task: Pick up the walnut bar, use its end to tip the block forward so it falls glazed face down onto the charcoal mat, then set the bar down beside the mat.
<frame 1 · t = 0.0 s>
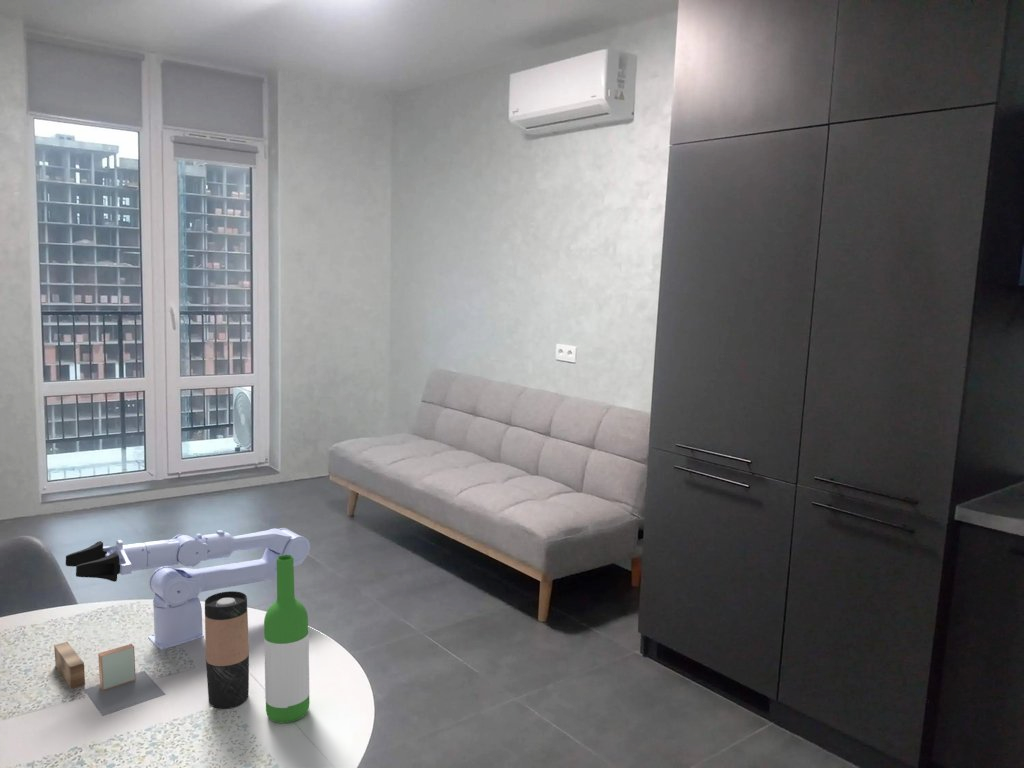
hand: (71, 565, 152), 22 cm above the table, tool horizontal, fingers open, 7 cm apart
bar: (70, 677, 151), on the table
travel mug: (228, 700, 144), on the table
wine bottle: (288, 714, 139), on the table
mat: (124, 693, 145), on the table
block: (118, 683, 148), resting on mat
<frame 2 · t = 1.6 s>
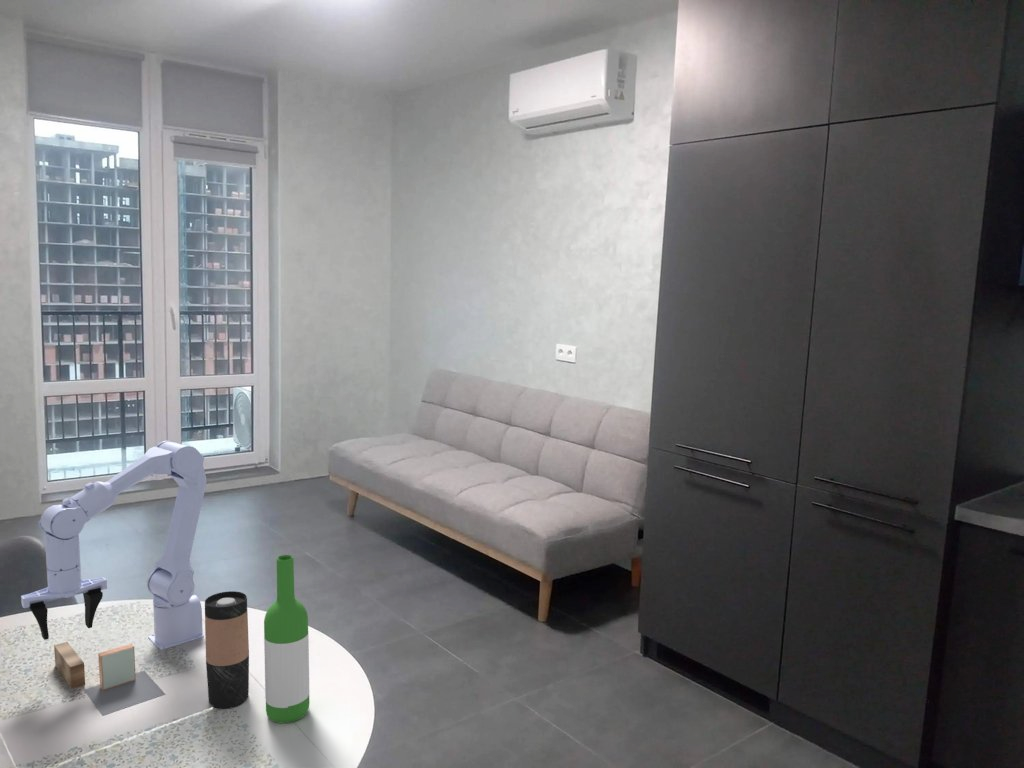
hand: (67, 631, 150), 9 cm above the table, tool pointing down, fingers open, 7 cm apart
nothing on the table moved.
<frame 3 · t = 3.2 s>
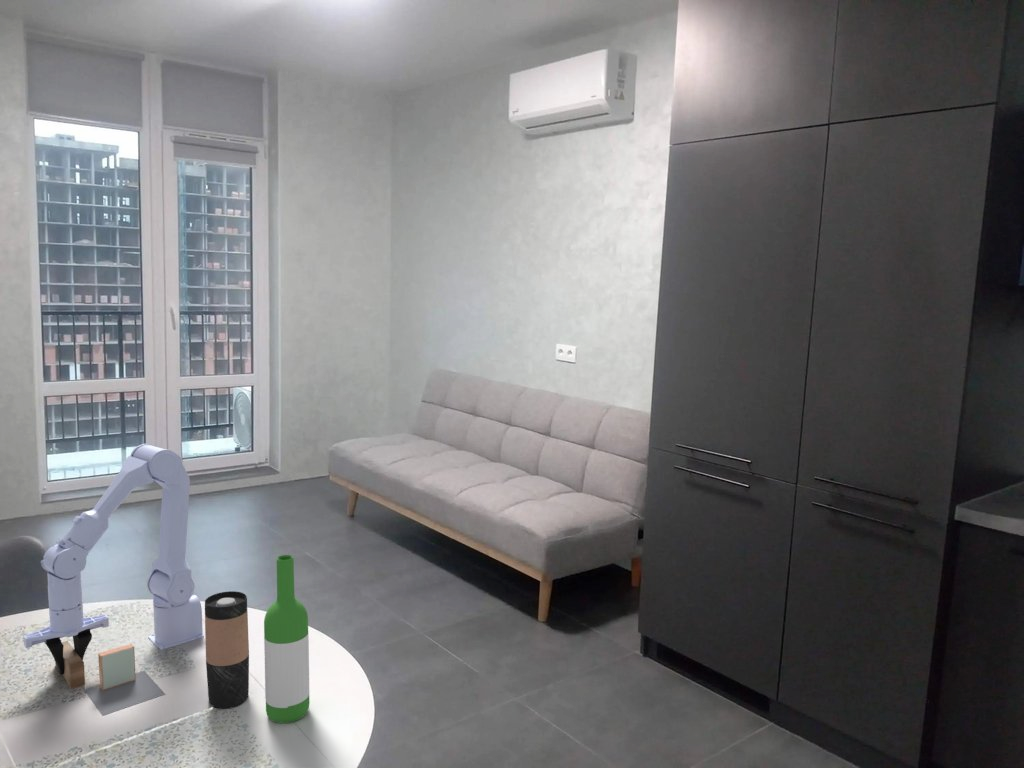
hand: (69, 670, 151), 1 cm above the table, tool pointing down, fingers closed on bar, 2 cm apart
bar: (70, 676, 151), on the table, touching gripper
everything else where it was.
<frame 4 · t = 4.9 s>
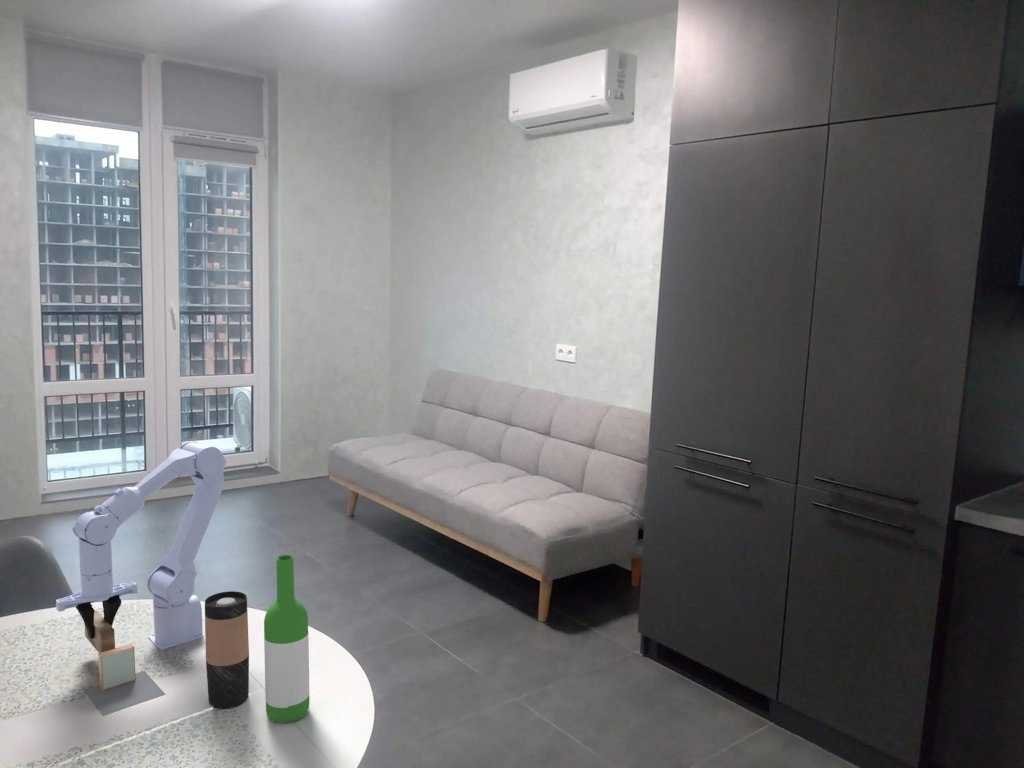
hand: (99, 634, 155), 7 cm above the table, tool pointing down, fingers closed on bar, 2 cm apart
bar: (99, 644, 155), point 4 cm above the table, touching gripper
everything else where it was.
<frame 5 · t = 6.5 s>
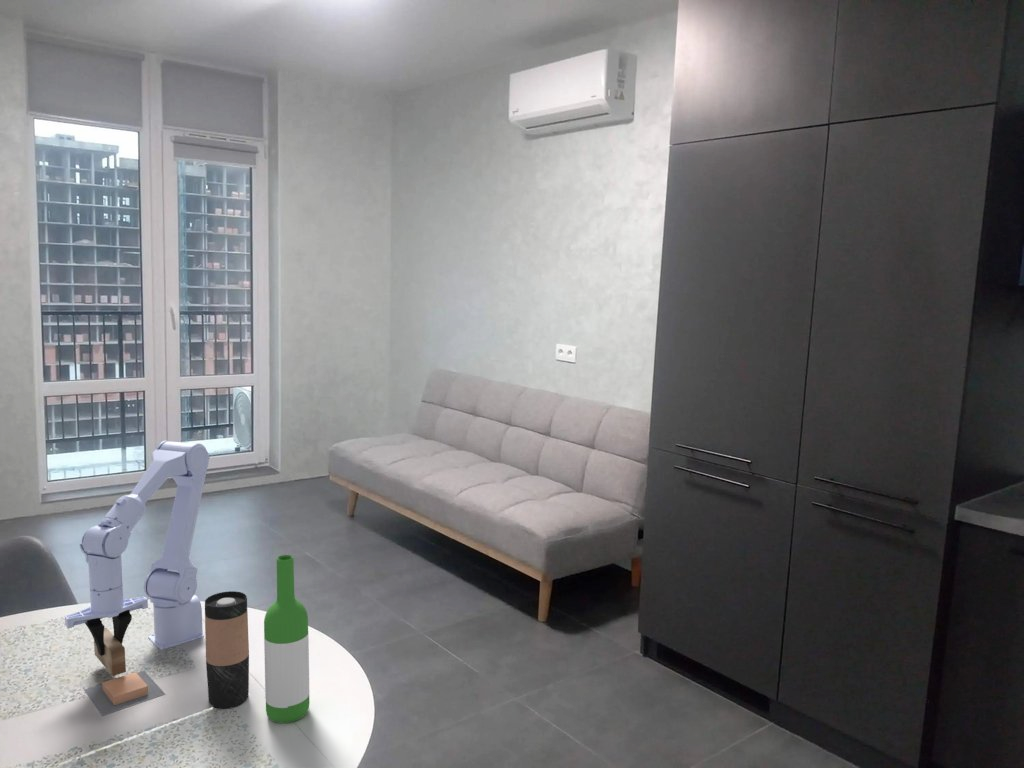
hand: (109, 651, 151), 5 cm above the table, tool pointing down, fingers closed on bar, 2 cm apart
bar: (110, 663, 151), point 3 cm above the table, touching gripper
block: (119, 681, 147), point 1 cm above the table, tilted 90°, touching mat
everything else where it was.
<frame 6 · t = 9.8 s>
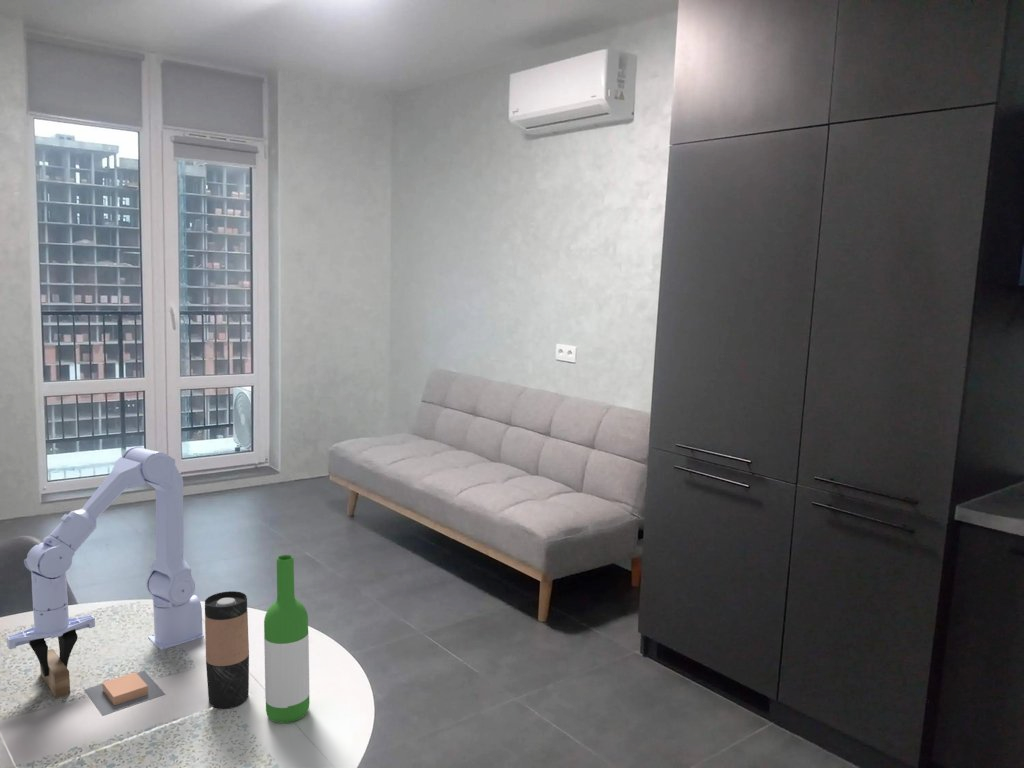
hand: (54, 671, 147), 3 cm above the table, tool pointing down, fingers closed on bar, 2 cm apart
bar: (55, 685, 148), on the table, touching gripper
everything else where it was.
when the fingers open (3 cm above the table, at t = 9.8 s): bar stays where it is, on the table.
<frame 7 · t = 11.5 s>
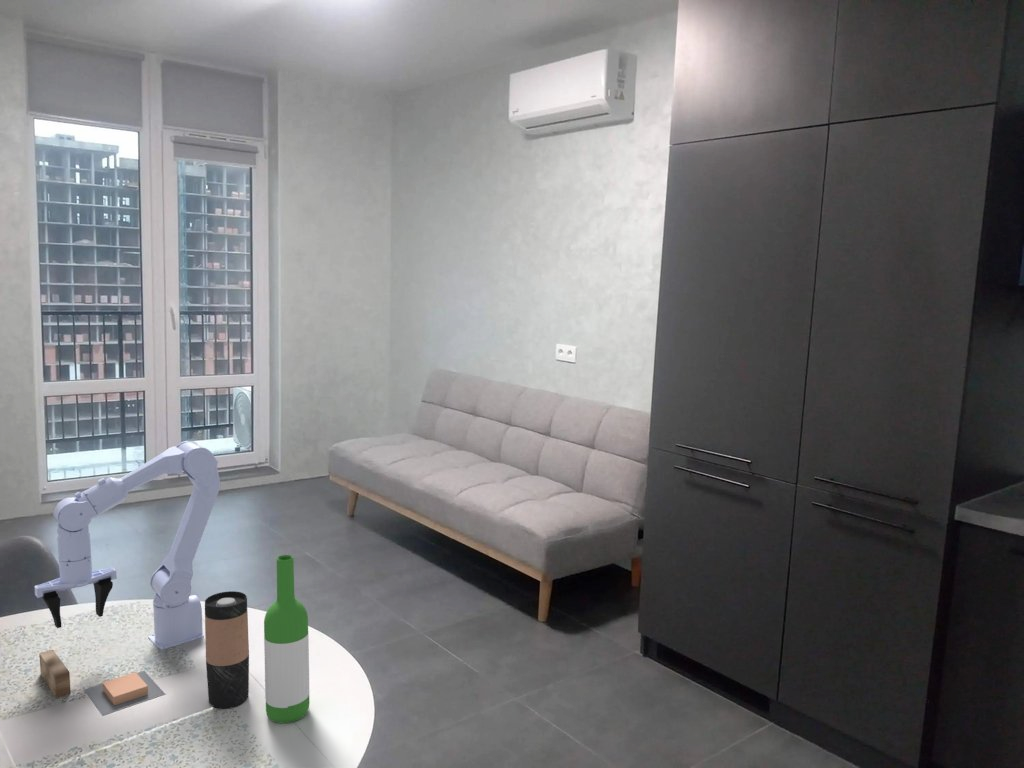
hand: (79, 620, 155), 9 cm above the table, tool pointing down, fingers open, 7 cm apart
bar: (55, 686, 148), on the table
everything else where it was.
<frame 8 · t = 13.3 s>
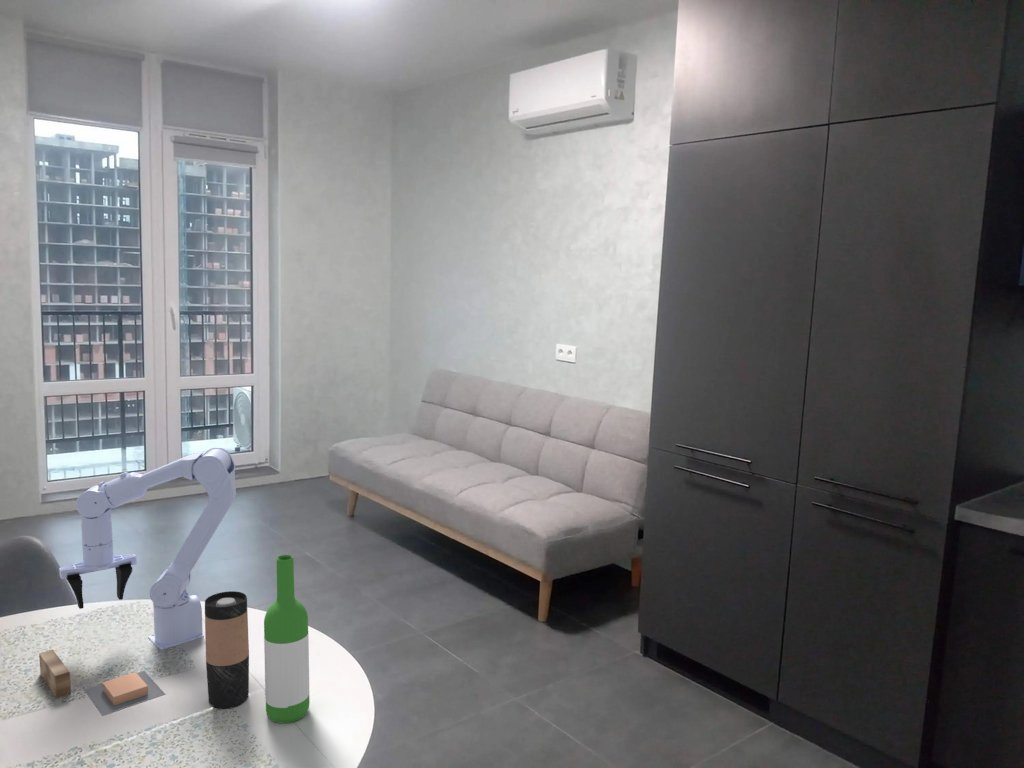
hand: (100, 602, 164), 9 cm above the table, tool pointing down, fingers open, 7 cm apart
nothing on the table moved.
at the end: block tilted 90°; block inside the target area (2.6 cm from its centre), point 1.3 cm above the table; bar inside the target area (0.1 cm from its centre), on the table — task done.
